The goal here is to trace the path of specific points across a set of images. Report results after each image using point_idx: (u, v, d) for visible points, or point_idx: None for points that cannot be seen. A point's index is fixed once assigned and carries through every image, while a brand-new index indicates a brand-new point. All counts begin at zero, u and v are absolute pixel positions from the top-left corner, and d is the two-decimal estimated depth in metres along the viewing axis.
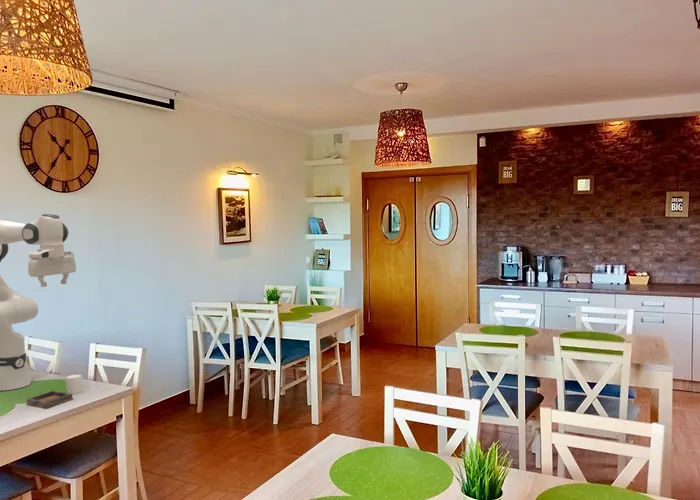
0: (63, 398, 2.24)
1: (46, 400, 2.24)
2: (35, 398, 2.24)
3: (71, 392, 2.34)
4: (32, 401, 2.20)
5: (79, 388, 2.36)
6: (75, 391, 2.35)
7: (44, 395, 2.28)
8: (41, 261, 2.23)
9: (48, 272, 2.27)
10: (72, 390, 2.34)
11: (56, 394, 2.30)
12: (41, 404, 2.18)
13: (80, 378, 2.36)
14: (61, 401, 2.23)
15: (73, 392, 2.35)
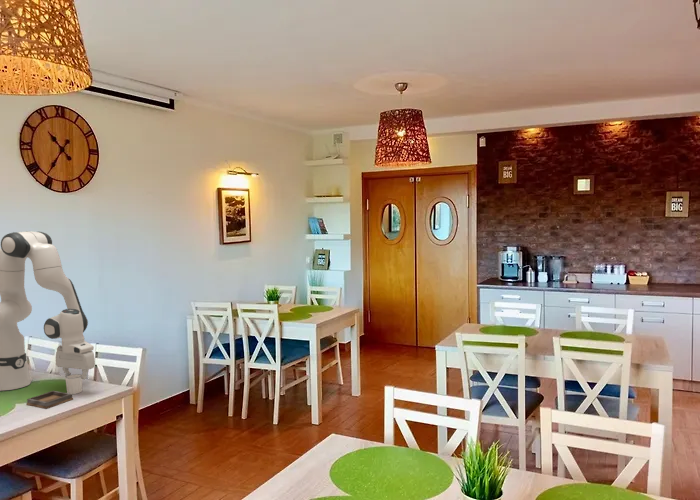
0: (63, 398, 2.24)
1: (46, 400, 2.24)
2: (35, 398, 2.24)
3: (71, 392, 2.34)
4: (32, 401, 2.20)
5: (79, 388, 2.36)
6: (75, 391, 2.35)
7: (44, 395, 2.28)
8: None
9: None
10: (72, 390, 2.34)
11: (56, 394, 2.30)
12: (41, 404, 2.18)
13: (80, 378, 2.36)
14: (61, 401, 2.23)
15: (73, 392, 2.35)
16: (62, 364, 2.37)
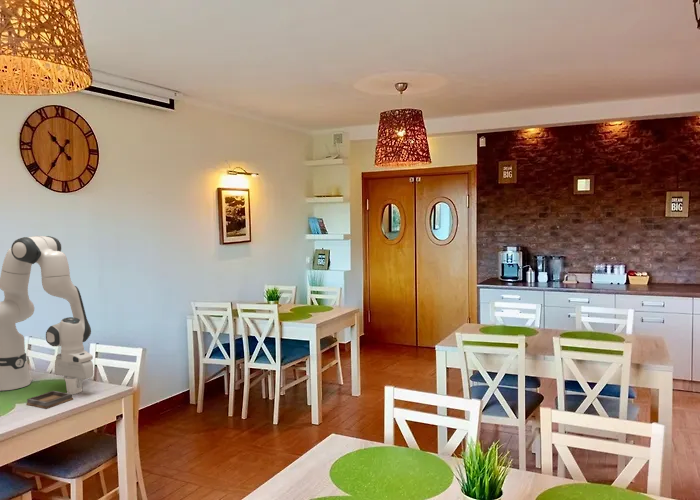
0: (63, 398, 2.24)
1: (46, 400, 2.24)
2: (35, 398, 2.24)
3: (71, 392, 2.34)
4: (32, 401, 2.20)
5: (79, 388, 2.36)
6: (75, 391, 2.35)
7: (44, 395, 2.28)
8: None
9: None
10: (72, 390, 2.34)
11: (56, 394, 2.30)
12: (41, 404, 2.18)
13: None
14: (61, 401, 2.23)
15: (73, 392, 2.35)
16: (60, 372, 2.38)
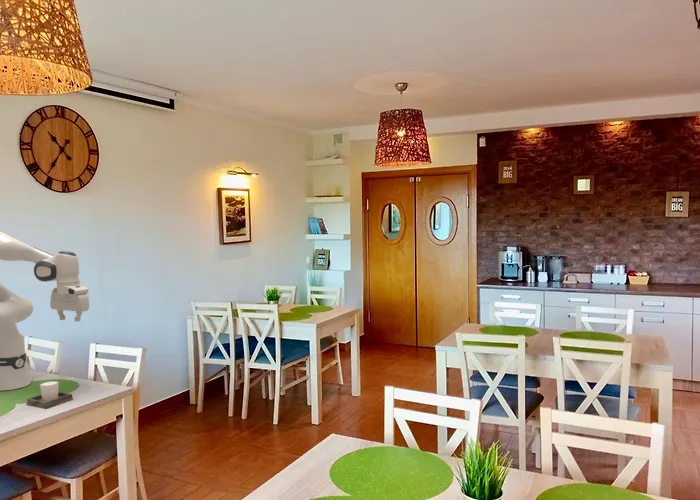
0: (63, 398, 2.24)
1: None
2: (35, 398, 2.24)
3: (46, 400, 2.22)
4: (32, 401, 2.20)
5: (55, 396, 2.24)
6: (51, 399, 2.22)
7: None
8: None
9: None
10: (47, 398, 2.22)
11: None
12: (41, 404, 2.18)
13: (56, 385, 2.24)
14: (61, 401, 2.23)
15: (48, 400, 2.22)
16: (56, 306, 2.37)
